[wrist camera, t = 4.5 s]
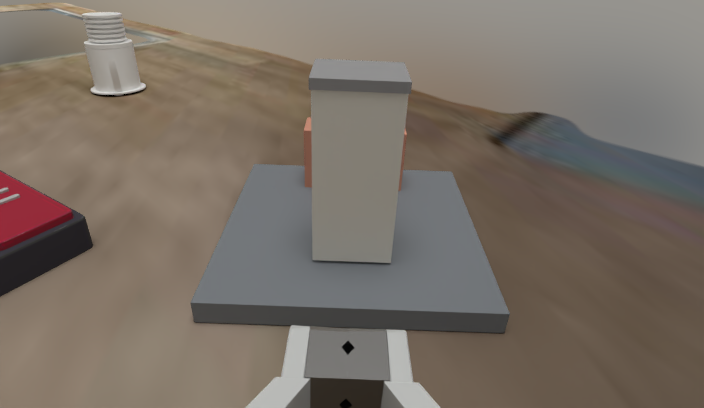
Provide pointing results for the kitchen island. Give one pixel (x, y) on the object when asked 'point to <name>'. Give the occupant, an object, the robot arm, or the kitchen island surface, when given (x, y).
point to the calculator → (35, 233)
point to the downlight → (110, 55)
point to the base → (350, 277)
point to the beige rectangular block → (356, 157)
